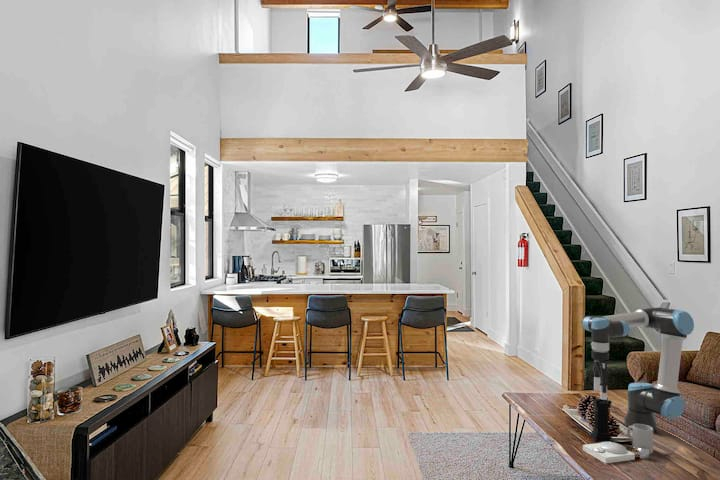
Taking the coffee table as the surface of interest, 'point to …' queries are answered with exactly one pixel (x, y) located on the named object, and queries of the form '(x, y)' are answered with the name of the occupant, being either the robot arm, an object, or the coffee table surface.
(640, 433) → the mug
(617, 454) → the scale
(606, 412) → the chess piece
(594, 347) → the robot arm
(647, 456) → the spacer
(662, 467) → the coffee table surface
